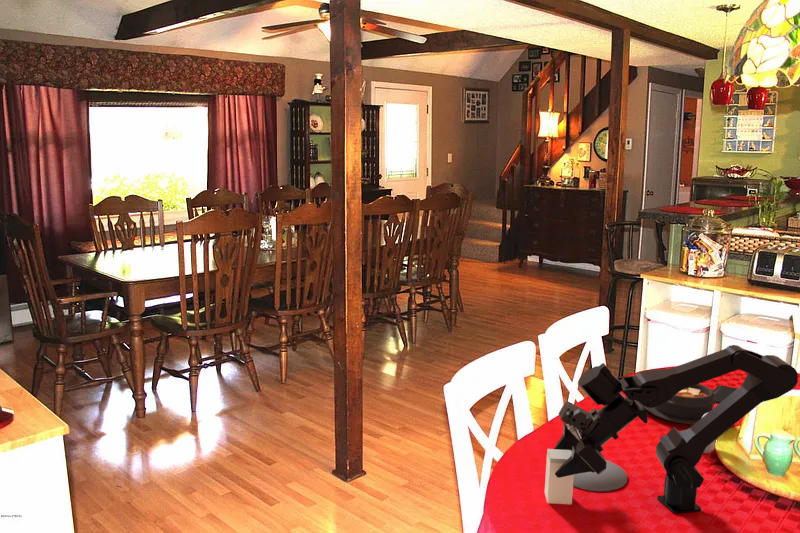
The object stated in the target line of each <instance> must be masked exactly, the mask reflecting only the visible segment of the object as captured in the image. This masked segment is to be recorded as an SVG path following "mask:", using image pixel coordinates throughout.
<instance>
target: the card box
mask: <svg viewBox="0 0 800 533" xmlns="http://www.w3.org/2000/svg"><path fill="white" fill-rule="evenodd" d="M546 451H547V452H546V465H545V480H544V482H545V483H544V496H545V500H546V503H547V504H556V505H557V504H558V505H572V504H573V495H574V494H573V490H574V489H573V488H574V486H573V480H574V475H569V476H565V477H560V478H558V477H557V476H556V475H555V473H556V471H557V470H558V469H559V468H560V467H561V466H562V465H563V464H564V463H565V462H566V461H567V460H568V459H569V457H570V456H571V455H572V451H571V450H559V449H554V448H547V450H546Z"/></svg>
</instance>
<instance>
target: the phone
mask: <svg viewBox="0 0 800 533" xmlns="http://www.w3.org/2000/svg"><path fill="white" fill-rule="evenodd" d="M736 389H738V388H735V387H732V386H727V385H723V384H721V385H720V384H718V385H717V386H716V387H714V389H713V390H712V391H713V393H714V397H715V398H716V400H717V403H721V402H722V401H723V400H724V399H725V398H727V397H728V396H729V395H730V394H731V393H733V392H734V391H735V390H736Z"/></svg>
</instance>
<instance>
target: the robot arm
mask: <svg viewBox="0 0 800 533" xmlns="http://www.w3.org/2000/svg"><path fill="white" fill-rule="evenodd" d="M739 370H740V371H742V372H745V373H747V374H746V376H745V378H744V381H743V383H742V384H741V385H740V386H739V387H738V388H737V389H736V390H735V391H734V392H733V393H731V394H730V395H729V396H728V397H727V398H725V399H724V400H723V401H722V402H721V403H720V402H718V403H719V404H718V403H717V405H716V406H715V407H713V408H712V410H711V411H710V412H709V413H707V414H706V415H705V416H704V417H702V418H701V419H700V420H699V421H698V422H696V423H695V424H694V425H691V426H690V427H689V428H687V429H683V430H678V429H677V428H676V427H675V426H674V427H672V428H670V429H669V431H668V432H667V433H666V434H664V435H663V436H660V437H658V438H659V442H658V443H657V444H656V446H655V455H656V458H657V459H658V461H659V463H661V465H662V467H663V468H664V469H663V470H665V471H666V472H665V478H664V486H663V494H662V495H657V500H659V502H660V503H662V505H664V506H665V507H666V508H667V509H668V510H669V511H670V512H672V513H673V514H682V513H683V514H684V513H691V512H701V511H702V507H701V506H700V505H698V504H697V503H696V502H697V501H696V500H697V491H698V488H700V487H701V486H702V484H703V482H704V480H705V479H704V477H703V476H702V474H701V473H700V471H699V470H698V469H697V467H696V466H697V465H698V464H699V462H700V461H701V458H702V457H703V454H704V453H703V452H704V450H705V448H706V447H707V446H708V445H710V444H711V443H712V442H713V441H715V440H716V439H717V438H718V439H719V437H721V436H722V435H723V434H724V433H725V432H728V430H729V429H731V428H732V427H733V426H735V424H737V423H738V422H739V421H740V420H741V419H743V418H744V417H745V416H747V415H748V414H749V413H751V412H752V411H753V410H754V409H756V407H758V406H759V405H760V404H762V403H763V402H767V401H771V400H775V399H778V398H780V397H783V396H784V395H785V394H788V393H789V392H791V391H792V390H793V389H795V387H797V385H798V382H799V380H798V379H799V374H798V372H797V370H796V368H794V367H793V366H792V365H790V364H789V363H788V362H786V361H785V360H784V359H782V358H780V357H779V356H777V355H773V354H772V355H771V354H766V355H762V354H760V353H758V352H754V351H752V350H748V349H745V348H743V347H741V346H739V345H738V344H737V345H735V344H731V345H728V346H727V347H726V348H724V349H721V350H718V351H716V352H713V353H710V354H707V355H704V356H702V357H699V358H696V359H694V360H690V361H688V362H686V363H682V364H680V365H677V366H675V367H669V368H655V369H648V370H644V371H640V372H637V373H636V374H634V375H628V376H617V377H616V376H615V375H614V374H613V372H611V371H610V369H609V367H608V366H607V365H606V364H605V362H602V363H601V364H599V365H597V366H593V367H591V368H590V369H589V368H588V369H586V370H585V372H584V373H582V375H580V377H579V379H578V382H577V385H578V387H580V388H581V389H582V390H583V392H585V394H586V395H587V396H588V397H589V398H590V399H591V400H592V401H593V402H594V403H595V404H596V405H602V406H603V407H601V408H600V409H599V410H598V409H597V408H593V409H591V410H589V411H587V410H586V409H584V408H583V407H580V406H578V405H576V404H574V403H572V402H570V401H568V400H565V402H564V404H563V405H562V407H561V409H560V410H559V412H558V415H559V416H560V420H561V421H562V430H563V431H562V435H561V437H560V438H559V440H558V442H557V443H556V444H555V446H554V447H553V449H559V450H571V451H572V455H571V456H570V457H569V459H568V460H567V461H566V462H565V463H564V464H563V465H562V466H561V467H560V468H559V469H558V470H557V471H556V473H555V475H556V476H557V477H558V478H560V477H565V476H569V475H574V474H579V473H586V472H592V473H594V472H596V473H597V474H600V473H602V472H603V471H604V470H605V469H606V465H607V463H606V460H607V459H606V458H605V457H604V454H603V453H601V452H603V450H604V448H603V446H604V444H606V443H608V441H610V440H611V439H613V440H615V441H616V440H618V439H619V437H620V436H619V432H621V431H622V430H624V429H625V428H626V427H627V426H628V425H629V424H631V423H632V422H633V421H634V420H636V419H637V418H639V419H640V421H642V422H643V424H648V421H649V420H648V414H649V411H648V409H647V408H646V407H648V408H654V407H658V406H660V405H661V404H663V403H665V402H667V401H669V400H671V399H672V398H673V397H674V396H675V395H676V394H677V393H678V392H680V391H681V390H683V389H685V388H688V387H691V386H694V385H697V384H702V383H704V382H708V381H710V380H712V379H716V378H719V377H722V376H724V375H727V374H729V373H732V372H735V371H739ZM622 393H623V394H624V395H623V394H622ZM635 401H639V402H640V403H641V404H642V405H643V406H639V405H638V404H637V403H636V402H635ZM645 406H646V407H645Z"/></svg>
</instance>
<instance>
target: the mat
mask: <svg viewBox="0 0 800 533" xmlns="http://www.w3.org/2000/svg"><path fill="white" fill-rule="evenodd" d="M605 460H606V463H607V465H606V469H605V470H604V471H603V472H602V473H600V474H597V473H596V472H594V473H592V472H586V473H579V474H574V480H573V488H576V489H581V490H583V491H591V492H611V491H615V490H619V489H621V488H623V487H624V486H625V485H626V484H627V481H628V474H627V472H626V470H624V469H623V468H622V467H621V466H619V465H618V464H616V463H614V462H612V461H610V460H607V459H605Z"/></svg>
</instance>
